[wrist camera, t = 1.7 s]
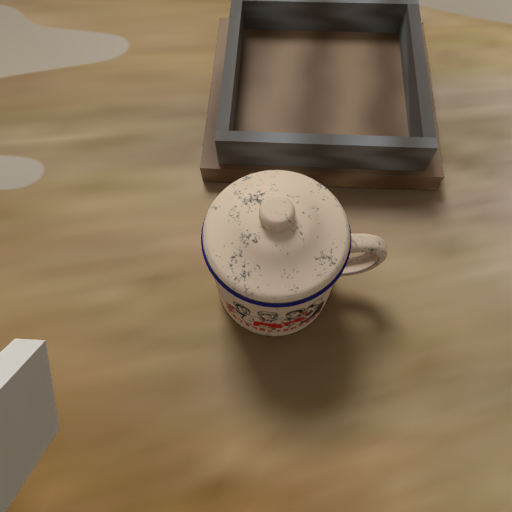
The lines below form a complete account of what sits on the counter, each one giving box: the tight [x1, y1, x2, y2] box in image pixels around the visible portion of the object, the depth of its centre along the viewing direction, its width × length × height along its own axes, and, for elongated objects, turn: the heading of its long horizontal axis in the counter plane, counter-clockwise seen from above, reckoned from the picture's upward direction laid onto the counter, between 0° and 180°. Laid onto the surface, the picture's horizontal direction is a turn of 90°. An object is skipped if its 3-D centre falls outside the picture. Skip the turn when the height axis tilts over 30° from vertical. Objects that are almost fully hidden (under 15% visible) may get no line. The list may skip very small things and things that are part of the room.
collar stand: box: [200, 0, 444, 190], centre depth 39 cm, size 20×18×5 cm
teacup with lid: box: [201, 170, 387, 336], centre depth 29 cm, size 12×9×12 cm
